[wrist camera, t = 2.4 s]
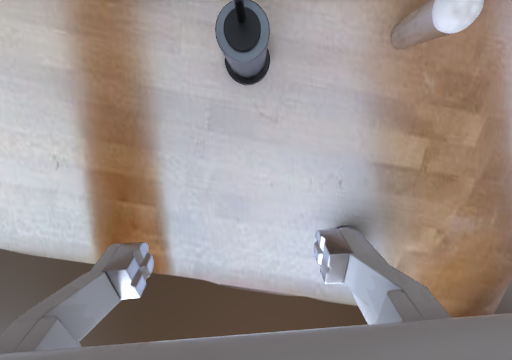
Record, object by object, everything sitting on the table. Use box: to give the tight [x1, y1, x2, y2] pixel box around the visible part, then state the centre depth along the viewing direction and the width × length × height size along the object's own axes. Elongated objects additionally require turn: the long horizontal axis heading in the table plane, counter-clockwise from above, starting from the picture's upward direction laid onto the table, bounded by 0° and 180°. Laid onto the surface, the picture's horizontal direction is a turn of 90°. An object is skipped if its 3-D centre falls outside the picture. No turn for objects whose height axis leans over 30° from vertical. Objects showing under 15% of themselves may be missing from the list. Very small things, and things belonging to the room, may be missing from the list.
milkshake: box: [391, 0, 484, 49], centre depth 23 cm, size 5×5×10 cm
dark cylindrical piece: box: [215, 0, 270, 85], centre depth 20 cm, size 8×6×18 cm
